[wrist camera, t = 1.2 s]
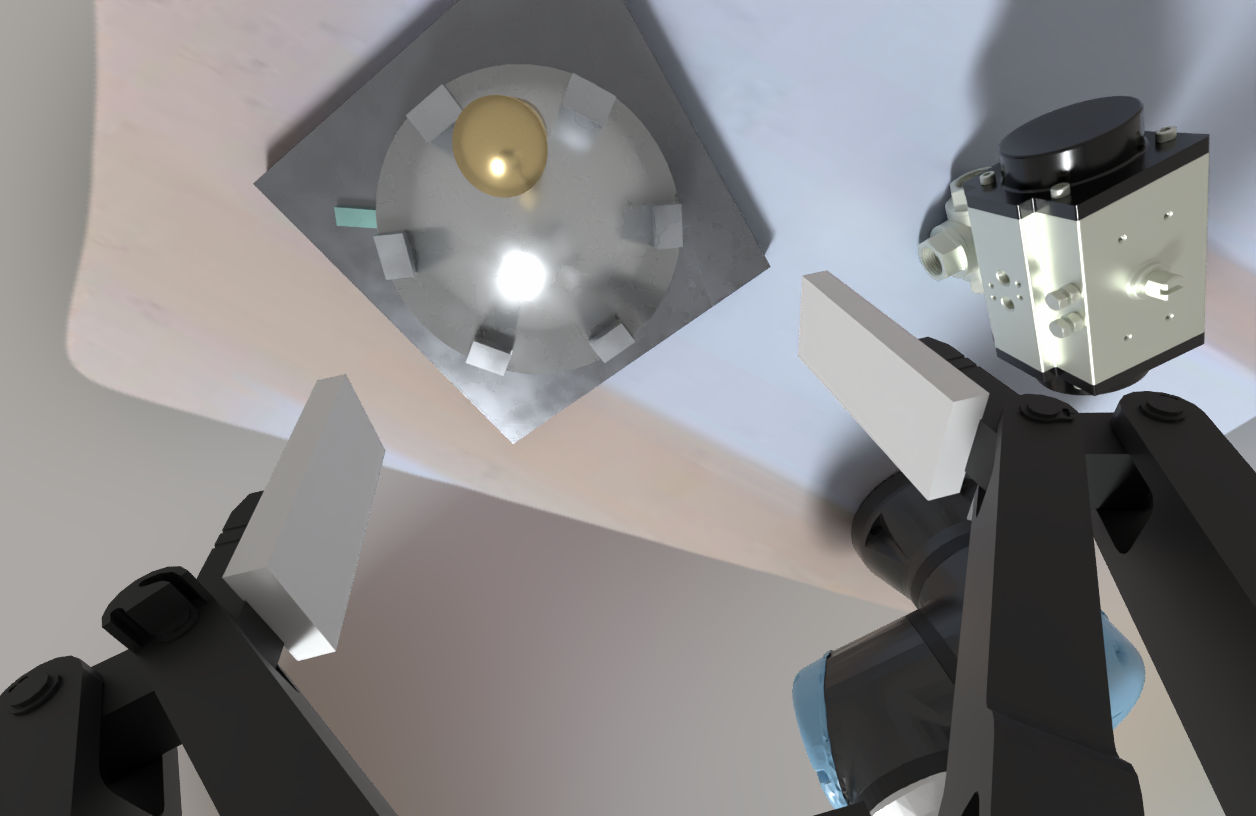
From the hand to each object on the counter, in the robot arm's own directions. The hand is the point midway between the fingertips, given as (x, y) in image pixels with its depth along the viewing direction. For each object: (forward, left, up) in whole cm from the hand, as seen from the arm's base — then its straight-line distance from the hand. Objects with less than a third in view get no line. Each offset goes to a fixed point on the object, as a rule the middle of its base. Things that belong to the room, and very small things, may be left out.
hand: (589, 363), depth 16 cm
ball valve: (-21, -25, -30) cm, 44 cm away
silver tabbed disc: (0, +3, -27) cm, 27 cm away
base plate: (0, +3, -29) cm, 29 cm away
